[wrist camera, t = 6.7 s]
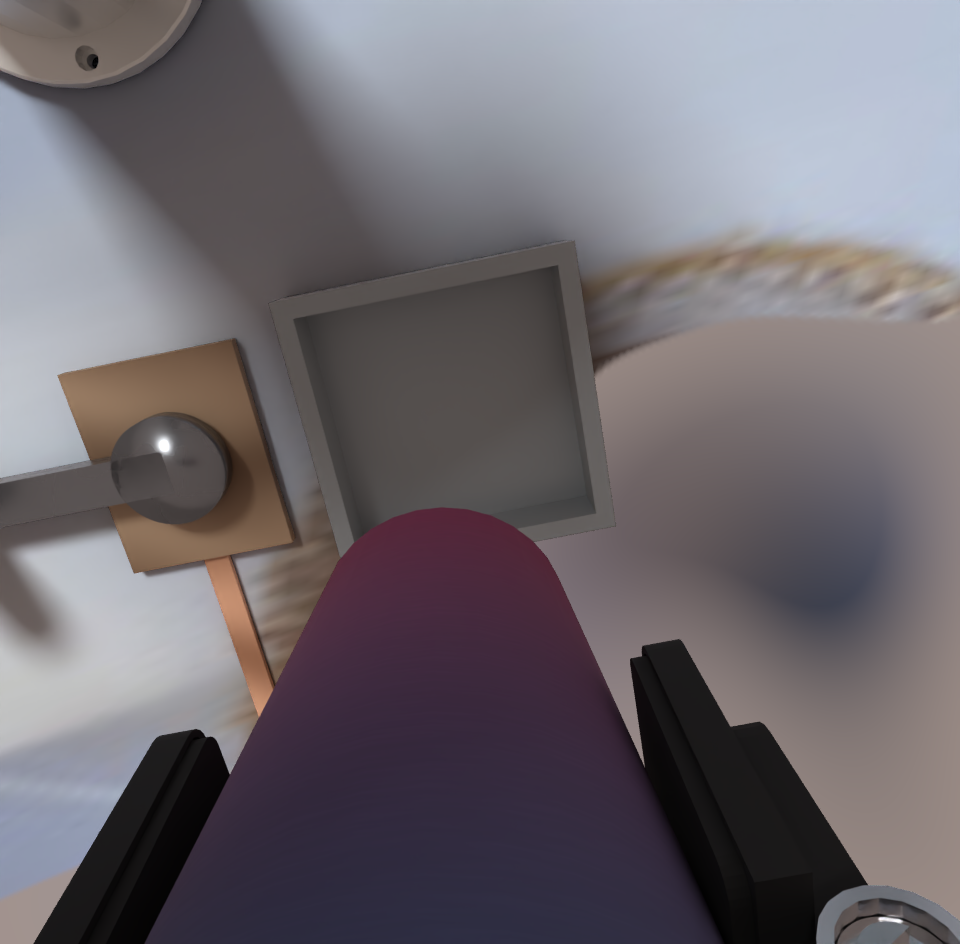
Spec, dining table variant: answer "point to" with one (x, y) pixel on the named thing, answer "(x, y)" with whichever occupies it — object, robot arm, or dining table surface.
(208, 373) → the crank base
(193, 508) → the crank
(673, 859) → the cup
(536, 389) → the tray
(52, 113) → the dining table surface
